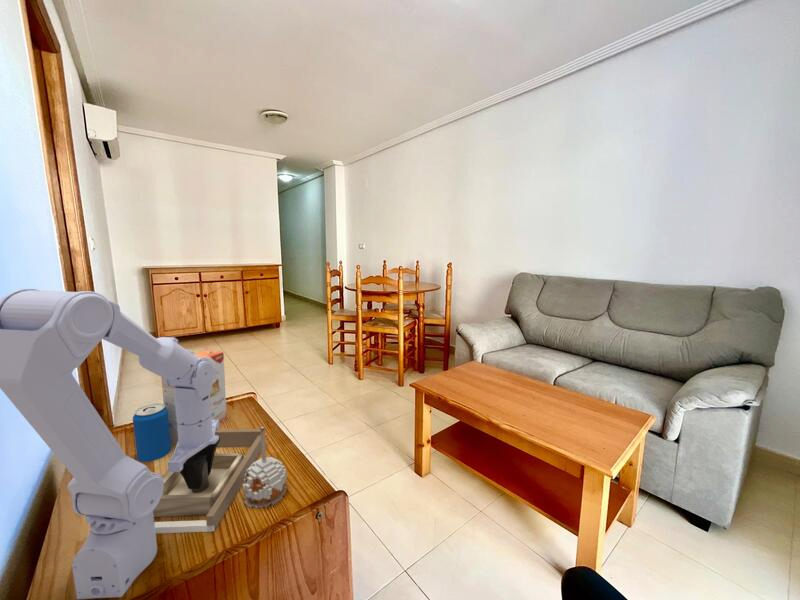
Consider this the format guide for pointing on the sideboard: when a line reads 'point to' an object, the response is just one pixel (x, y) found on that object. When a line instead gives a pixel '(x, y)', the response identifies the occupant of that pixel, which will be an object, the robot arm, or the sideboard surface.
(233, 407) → the sideboard surface
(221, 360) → the cracker box
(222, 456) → the beige shallow open box
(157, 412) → the beverage can
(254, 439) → the bay
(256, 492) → the decorative ornament
